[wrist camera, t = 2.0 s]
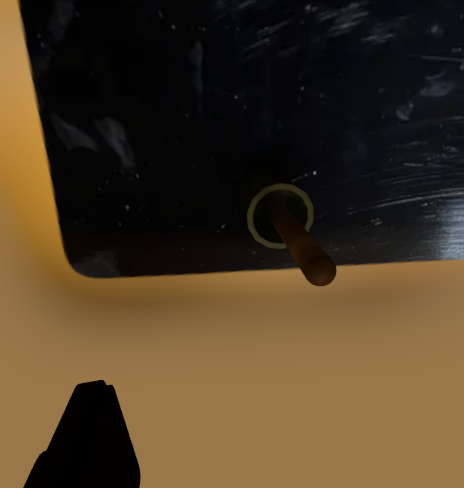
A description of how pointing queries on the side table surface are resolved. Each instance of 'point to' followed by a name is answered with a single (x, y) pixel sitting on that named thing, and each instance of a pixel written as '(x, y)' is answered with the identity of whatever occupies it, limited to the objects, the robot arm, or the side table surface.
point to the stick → (299, 242)
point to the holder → (288, 194)
